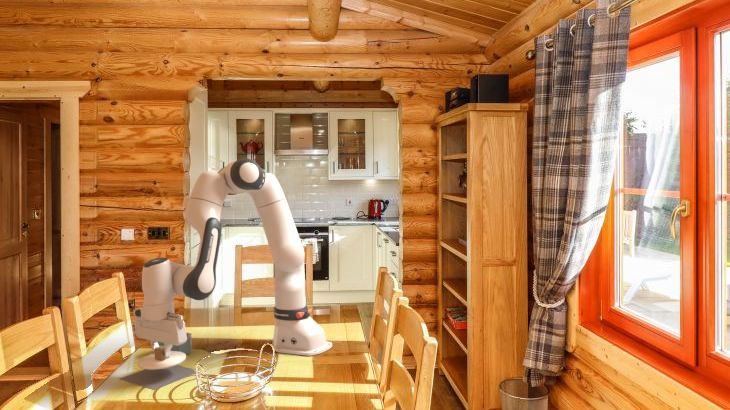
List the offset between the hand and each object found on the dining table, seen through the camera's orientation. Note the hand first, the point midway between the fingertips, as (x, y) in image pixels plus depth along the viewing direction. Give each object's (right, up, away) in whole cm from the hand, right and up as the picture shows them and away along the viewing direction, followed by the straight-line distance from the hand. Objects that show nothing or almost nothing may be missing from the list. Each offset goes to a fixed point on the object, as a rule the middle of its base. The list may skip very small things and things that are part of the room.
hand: (162, 355), depth 167 cm
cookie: (+12, -6, +27) cm, 30 cm away
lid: (0, -2, 0) cm, 2 cm away
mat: (-1, -7, +1) cm, 7 cm away
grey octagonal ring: (-4, -6, +22) cm, 23 cm away
